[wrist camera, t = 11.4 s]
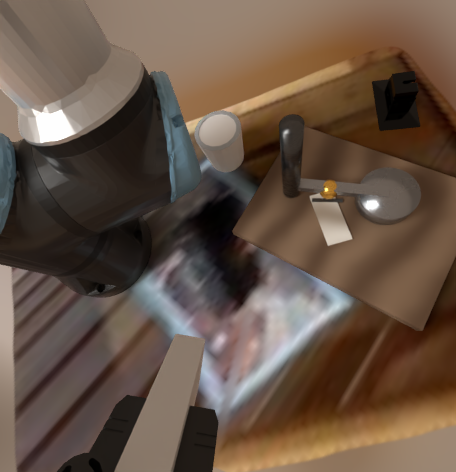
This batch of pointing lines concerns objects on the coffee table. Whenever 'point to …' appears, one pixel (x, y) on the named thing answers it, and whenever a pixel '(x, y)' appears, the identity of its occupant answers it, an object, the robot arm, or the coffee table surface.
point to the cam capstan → (366, 193)
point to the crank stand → (358, 230)
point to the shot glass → (221, 140)
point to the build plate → (396, 101)
